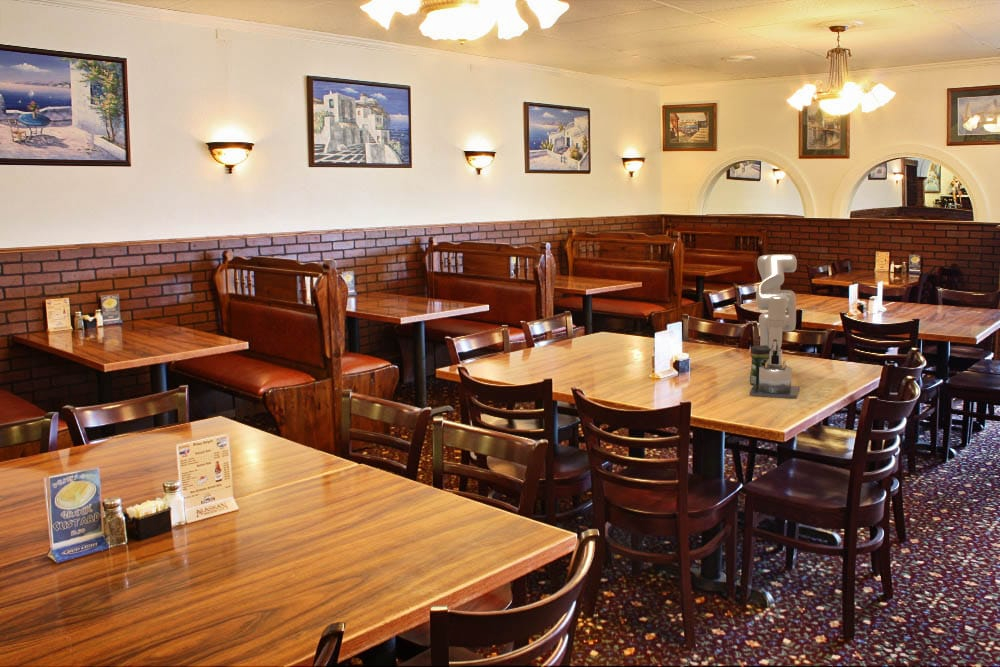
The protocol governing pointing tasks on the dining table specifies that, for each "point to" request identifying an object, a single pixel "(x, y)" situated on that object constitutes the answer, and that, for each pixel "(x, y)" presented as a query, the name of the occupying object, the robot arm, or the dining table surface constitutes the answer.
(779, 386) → the cylinder on square plate
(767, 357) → the coffee jar
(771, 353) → the white block with knob
